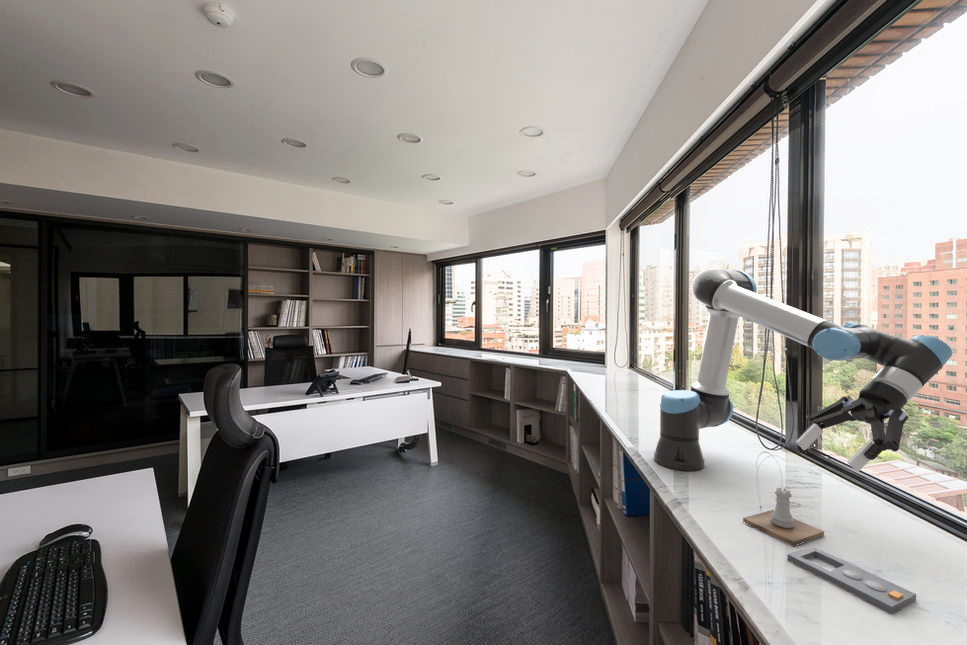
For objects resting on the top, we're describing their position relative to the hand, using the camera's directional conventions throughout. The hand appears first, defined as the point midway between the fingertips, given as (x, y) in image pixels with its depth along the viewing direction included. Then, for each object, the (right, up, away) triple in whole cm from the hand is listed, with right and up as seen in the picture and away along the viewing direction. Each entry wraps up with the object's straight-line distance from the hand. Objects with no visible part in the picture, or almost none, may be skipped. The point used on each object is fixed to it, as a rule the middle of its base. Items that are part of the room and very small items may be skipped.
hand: (824, 455), depth 94 cm
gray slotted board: (-11, -17, -18) cm, 27 cm away
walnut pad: (-10, -17, 0) cm, 19 cm away
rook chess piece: (-10, -16, 0) cm, 19 cm away
